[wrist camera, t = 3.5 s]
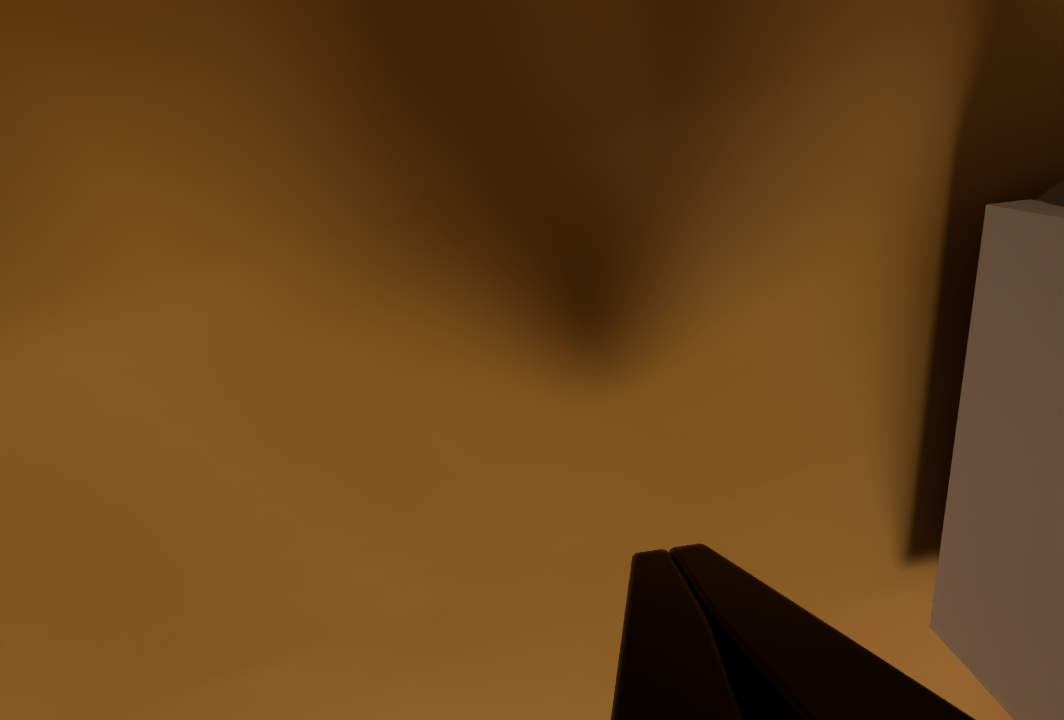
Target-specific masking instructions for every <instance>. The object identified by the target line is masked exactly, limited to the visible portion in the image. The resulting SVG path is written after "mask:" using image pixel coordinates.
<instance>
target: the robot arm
mask: <svg viewBox="0 0 1064 720" xmlns="http://www.w3.org/2000/svg"><path fill="white" fill-rule="evenodd" d="M611 720H976V719H974V718H972V717H971V716H969V715H968V714H966V713H965V712H963V711H962V710H960V709H958V708H957V707H955V706H954V705H952V704H951V703H949V702H948V701H946V700H945V699H943V698H941V697H940V696H938V695H937V694H935V693H934V692H932V691H931V690H929V689H927V688H926V687H924V686H923V685H921V684H920V683H918V682H917V681H915V680H914V679H912V678H910V677H909V676H907V675H906V674H904V673H903V672H901V671H900V670H898V669H897V668H895V667H893V666H892V665H890V664H889V663H887V662H886V661H884V660H883V659H881V658H879V657H878V656H876V655H875V654H873V653H872V652H870V651H869V650H867V649H866V648H864V647H862V646H861V645H859V644H858V643H856V642H855V641H853V640H852V639H850V638H848V637H847V636H845V635H844V634H842V633H841V632H839V631H838V630H836V629H835V628H833V627H831V626H830V625H828V624H827V623H825V622H824V621H822V620H821V619H819V618H817V617H816V616H814V615H813V614H811V613H810V612H808V611H807V610H805V609H804V608H802V607H800V606H799V605H797V604H796V603H794V602H793V601H791V600H790V599H788V598H787V597H785V596H783V595H782V594H780V593H779V592H777V591H776V590H774V589H773V588H771V587H769V586H768V585H766V584H765V583H763V582H762V581H760V580H759V579H757V578H756V577H754V576H752V575H751V574H749V573H748V572H746V571H745V570H743V569H742V568H740V567H738V566H737V565H735V564H734V563H732V562H731V561H729V560H728V559H726V558H725V557H723V556H721V555H720V554H718V553H717V552H715V551H714V550H712V549H711V548H709V547H708V546H706V545H703V544H693V545H686V546H680V547H673V548H671V549H670V550H669V552H668V551H666V550H663V549H659V550H653V551H646V552H639V553H636V554H634V555H633V557H632V563H631V570H630V578H629V586H628V593H627V601H626V608H625V616H624V624H623V631H622V639H621V646H620V654H619V662H618V669H617V677H616V685H615V692H614V700H613V707H612V715H611Z"/></svg>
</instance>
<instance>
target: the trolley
mask: <svg viewBox="0 0 1064 720" xmlns="http://www.w3.org/2000/svg"><path fill="white" fill-rule="evenodd" d="M930 627H931V628H932V630H933V631H934V632H935V633H936V634H937V635H938V636H939V637H940V638H941V639H942V641H943V642H944V643H945V644H946V645H947V646H948V647H949V648H950V649H951V650H952V652H953V653H954V654H955V655H956V656H957V657H958V658H959V659H960V660H961V661H962V663H963V664H964V665H965V666H966V667H967V668H968V669H969V670H970V671H971V672H972V674H973V675H974V676H975V677H976V678H977V679H978V680H979V681H980V682H981V684H982V685H983V686H984V687H985V688H986V689H987V690H988V691H989V692H990V693H991V695H992V696H993V697H994V698H995V699H996V700H997V701H998V702H999V703H1000V704H1001V706H1002V707H1003V708H1004V709H1005V710H1006V711H1007V712H1008V713H1009V714H1010V715H1011V717H1012V718H1013V719H1014V720H1064V180H1063V181H1061V182H1059V183H1058V184H1056V185H1054V186H1053V187H1052V188H1050V189H1049V190H1048V191H1046V192H1045V193H1044V194H1042V195H1041V196H1040V197H1038V198H1037V199H1036V200H1031V199H1028V200H1020V201H1012V202H1004V203H995V204H987V205H986V210H985V217H984V225H983V232H982V240H981V247H980V254H979V262H978V269H977V277H976V284H975V292H974V299H973V307H972V314H971V322H970V329H969V337H968V344H967V352H966V359H965V367H964V374H963V382H962V389H961V396H960V404H959V411H958V419H957V426H956V434H955V441H954V449H953V456H952V464H951V471H950V479H949V486H948V494H947V501H946V509H945V516H944V524H943V531H942V538H941V546H940V553H939V561H938V568H937V576H936V583H935V591H934V598H933V606H932V613H931V621H930Z"/></svg>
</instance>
